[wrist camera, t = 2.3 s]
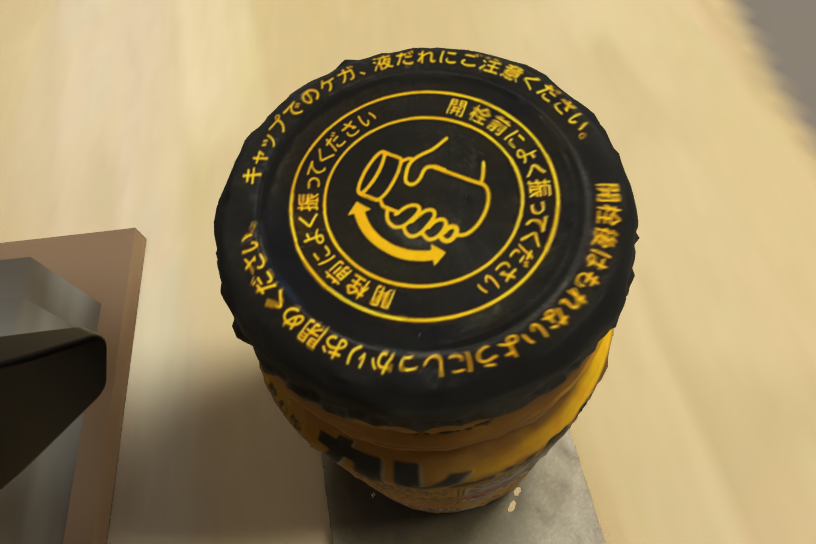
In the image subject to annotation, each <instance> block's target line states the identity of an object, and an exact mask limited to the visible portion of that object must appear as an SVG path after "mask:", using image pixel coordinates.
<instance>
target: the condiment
mask: <svg viewBox="0 0 816 544" xmlns="http://www.w3.org/2000/svg"><path fill="white" fill-rule="evenodd" d="M637 228H638V216H637V209H636V205H635V200H634V196H633V192H632V189H631V185H630V183H629V180H628V178H627V176H626V173H625V171H624V168H623V165H622V162H621V159H620V156H619V153H618V152H617V151H616V150H615V149H614V148H613V146H612V144H611V142H610V140H609V137H608V135H607V133H606V131H605V129H604V128H603V127H602V126H601V125H600V123H599V121H598V120H597V118H596V116H595V114H594V113H593V112H591V111H590V110H589V109H588V108H586V107H585V106H584V105H582V104H581V103H579V102H578V101H576V100H575V99H573V98H572V97H571V96H569V95H568V94H567V93H565V92H564V91H563V90H561V89H560V88H559V87H558V86H557V85H556V84H555V83H553V82H552V81H551V80H550V79H549V78H548V77H547V76H546V75H545V74H543V73H541V72H539V71H537V70H535V69H533V68H531V67H529V66H528V65H525V64H521V63H517V62H513V61H510V60H506V59H503V58H500V57H496V56H492V55H488V54H484V53H480V52H475V51H469V50H458V49H446V48H412V49H407V50H403V51H399V52H394V53H381V54H378V55H375V56H372V57H369V58H366V59H362V60H344V61H343V62H342V63H341V64H340V65H339V66H338V67H337V68H336V69H335V70H334V71H332V72H331V73H329V74H327V75H325V76H322V77H320V78H317V79H315V80H313V81H311V82H309V83H307V84H306V85H304V86H302V87H301V88H299V89H298V90H296V91H295V92H293V93H292V94H291V95H290V96H289V97H288V98H287V99H286V100H285V101H284V102H283V103H281V104H280V105H279V106H278V107H277V108H276V109H275V110H274V111H273V112H272V113H271V114H270V115H269V116H268V117H267V119H266V120H265V122H264V123H263V124H262V125H261V126H260V127H259V128H257V129H256V130H255V131H253V132H252V133H251V134H250V135H249V136H248V137H247V139H246V140H245V142H244V144H243V146H242V149H241V152H240V154H239V156H238V157H237V159H236V161H235V164H234V166H233V169H232V171H231V173H230V176H229V178H228V181H227V183H226V185H225V188H224V190H223V192H222V195H221V197H220V199H219V202H218V205H217V209H216V214H215V220H214V235H215V240H216V246H217V252H216V255H217V259H218V260H217V265H218V270H219V274H220V279H221V282H222V283H221V295H222V297H223V299H224V301H225V302H226V304H227V306H228V307H229V309H230V311H231V312H232V314H233V316H234V322H233V325H232V327H233V329H234V332H235V334H236V337H237V338H239V339H240V340H242V341H244V342H246V343H248V344H250V345H252V346H253V348H254V351H255V354H256V356H257V358H258V360H259V365H260V369H261V371H262V373H263V377H264V382H265V384H266V386H267V388H268V389H269V391H270V393H271V395H272V397H273V399H274V401H275V403H276V404H277V406H278V407H279V408H280V410H281V411H282V412H283V414H284V416H285V417H286V418H287V419H288V421H289V422H290V423H291V424H292V425H293V427H294V428H295V429H296V430H297V431H298V433H299V434H300V435H301V436H302V437H303V438H305V439H306V440H307V441H308V442H309V444H310V445H311V447H313V448H315V449H317V450H318V451H320V452H322V459H323V468H324V476H325V487H326V495H327V500H328V508H329V516H330V526H331V531H332V538H333V544H606V543H605V539H604V536H603V533H602V529H601V526H600V524H599V521H598V518H597V515H596V512H595V509H594V505H593V502H592V498H591V494H590V491H589V488H588V485H587V482H586V480H585V477H584V474H583V471H582V468H581V464H580V461H579V457H578V454H577V450H576V447H575V445H574V442H573V439H572V436H571V432H570V429H569V428H570V427H571V425H572V423H573V422H574V421H575V420H576V419H577V416H578V414H579V413H580V412H581V411H582V409H583V408H584V406H585V405H586V404H587V401H588V400H589V399H590V398H591V396H592V393H593V392H594V390H595V388H596V385H597V384H598V383H599V382H600V380H601V379H602V377H603V375H604V373H605V371H606V369H607V367H608V354H609V348H610V344H611V340H612V336H613V328H615V327H616V325H617V322H618V319H619V315H620V313H621V311H622V309H623V307H624V304H625V301H626V296H627V295H628V292H629V287H630V285H631V283H632V281H633V278H634V276H635V275H634V272H633V269H632V267H633V264H634V260H635V253H636V252H635V247H634V245H635V243H636V242H637V241H638V239H639V237H638V235H637V233H636V230H637ZM517 487H521V492H520V494H519V496H514V493H513V492H514V490H515V489H516V488H517ZM373 492H374V493H375V497H374V498H372V496H371V493H373ZM513 500H515V502H516V506H515V509H514V511H512V512H508V507H509V504H510V503H511V501H513Z"/></svg>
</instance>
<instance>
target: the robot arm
mask: <svg viewBox="0 0 816 544" xmlns="http://www.w3.org/2000/svg"><path fill="white" fill-rule="evenodd" d="M106 382H107V342H106V340H105V338H104V337H103V336H102V335H100V334H98V333H96V332H93V331H91V330H89V329H86V328H83V327H71V328H63V329H55V330H47V331H39V332H31V333H23V334H15V335H7V336H0V491H1V490H2V489H3V488H4V487H5V486H7V485H8V484H9V483H10V482H11V481H12V480H14V479H15V478H16V477H17V476H18V475H19V474H20V473H22V472H23V471H24V470H25V469H26V468H27V467H28V466H29V465H30V464H31V463H32V462H33V461H34V460H35V459H36V458H37V457H38V456H39V455H40V454H41V453H42V452H43V451H44V450H45V449H46V448H47V447H48V446H50V445H51V444H52V443H53V442H54V441H55V440H56V439H57V438H58V437H59V436H60V435H61V434H62V433H63V432H64V431H65V430H66V429H67V428H68V427H69V426H70V425H71V424H72V423H73V422H74V421H75V420H76V419H77V418H78V417H79V416H80V415H81V414H82V413H83V412H84V411H85V410H86V409H87V408H88V407H89V406H90V405H91V404H92V403H93V402H94V401H95V400H96V399H97V398H98V397H99V396H100V394H101V393H102V392H103V390H104V388H105V385H106Z"/></svg>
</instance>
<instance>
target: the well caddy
mask: <svg viewBox="0 0 816 544" xmlns="http://www.w3.org/2000/svg"><path fill="white" fill-rule="evenodd" d="M145 246H146V238H145V237H144V236H143V235H142V234H141V233H140V232H139V231H138V230H137V229H136V228H130V229H122V230H113V231H104V232H95V233H86V234H77V235H68V236H59V237H51V238H42V239H33V240H24V241H15V242H6V243H0V336H7V335H15V334H23V333H31V332H39V331H47V330H55V329H63V328H71V327H83V328H86V329H89V330H91V331H93V332H96V333H98V334H100V335H102V336H103V337H104V338H105V340H106V342H107V382H106V385H105V388H104V390H103V392H102V393H101V394H100V396H99V397H98V398H97V399H96V400H95V401H94V402H93V403H92V404H91V405H90V406H89V407H88V408H87V409H86V410H85V411H84V412H83V413H82V414H81V415H80V416H79V417H78V418H77V419H76V420H75V421H74V422H73V423H72V424H71V425H70V426H69V427H68V428H67V429H66V430H65V431H64V432H63V433H62V434H61V435H60V436H59V437H58V438H57V439H56V440H55V441H54V442H53V443H52V444H51V445H50V446H48V447H47V448H46V449H45V450H44V451H43V452H42V453H41V454H40V455H39V456H38V457H37V458H36V459H35V460H34V461H33V462H32V463H31V464H30V465H29V466H28V467H27V468H26V469H25V470H24V471H23V472H22V473H20V474H19V475H18V476H17V477H16V478H15V479H14V480H12V481H11V482H10V483H9V484H8V485H7V486H5V487H4V488H3V489H2V490H1V491H0V544H107V537H108V529H109V522H110V514H111V506H112V499H113V491H114V483H115V476H116V468H117V460H118V453H119V445H120V437H121V430H122V422H123V414H124V407H125V399H126V392H127V384H128V376H129V369H130V361H131V353H132V346H133V338H134V330H135V323H136V315H137V307H138V300H139V292H140V284H141V277H142V269H143V262H144V254H145Z"/></svg>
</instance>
